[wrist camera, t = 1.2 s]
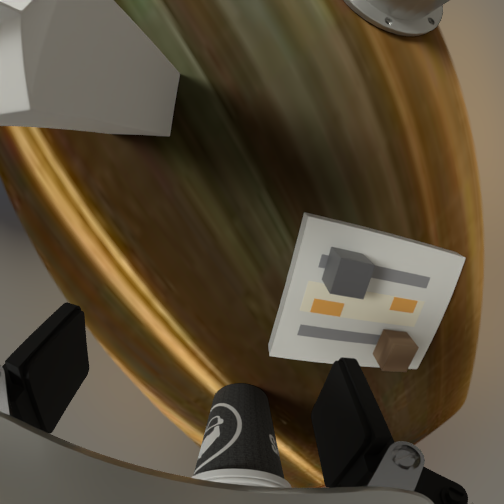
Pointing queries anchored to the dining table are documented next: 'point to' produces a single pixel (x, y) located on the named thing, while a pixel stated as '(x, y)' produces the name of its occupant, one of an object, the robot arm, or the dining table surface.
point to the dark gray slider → (347, 273)
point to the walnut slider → (395, 351)
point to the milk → (82, 69)
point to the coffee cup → (240, 440)
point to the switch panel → (375, 300)
